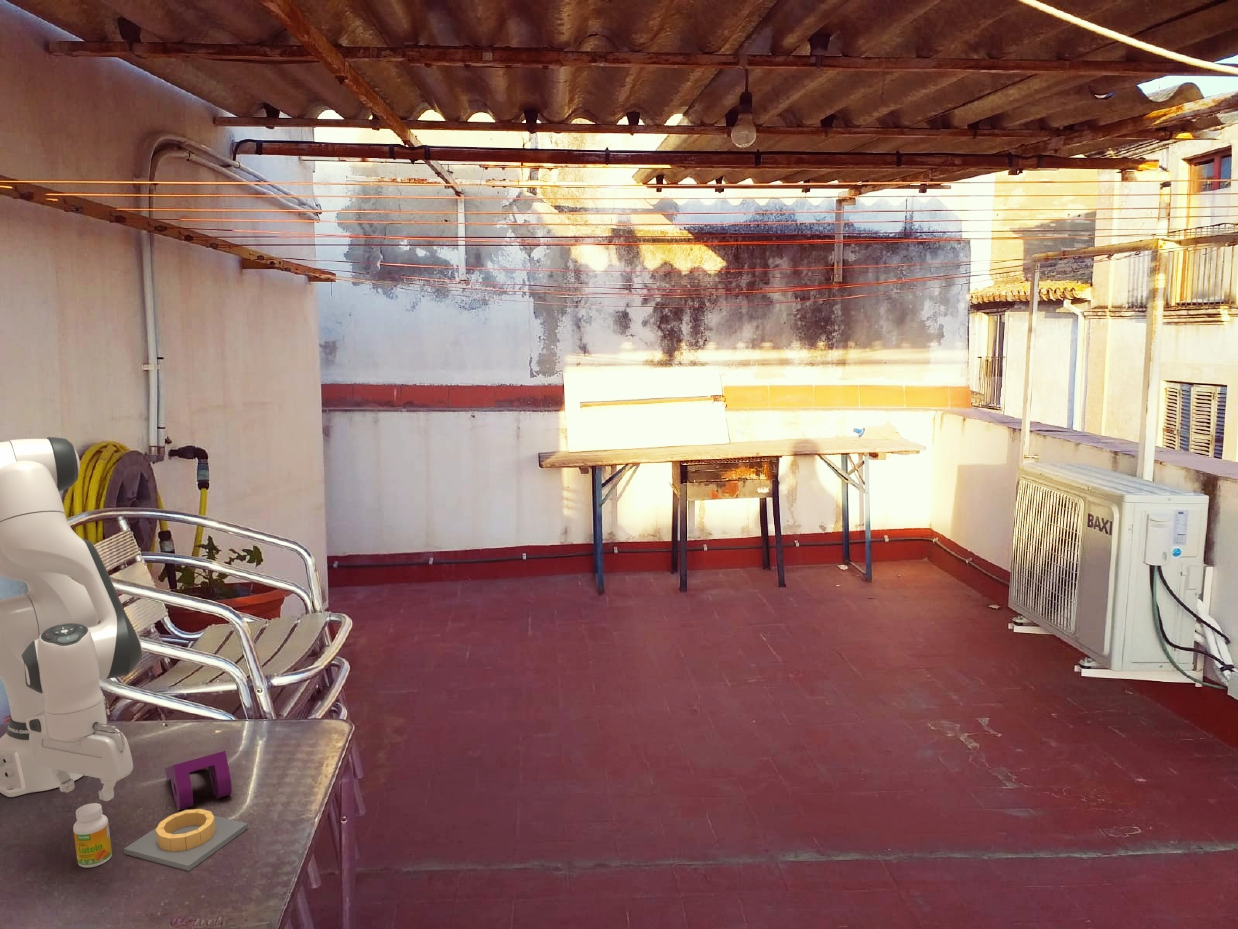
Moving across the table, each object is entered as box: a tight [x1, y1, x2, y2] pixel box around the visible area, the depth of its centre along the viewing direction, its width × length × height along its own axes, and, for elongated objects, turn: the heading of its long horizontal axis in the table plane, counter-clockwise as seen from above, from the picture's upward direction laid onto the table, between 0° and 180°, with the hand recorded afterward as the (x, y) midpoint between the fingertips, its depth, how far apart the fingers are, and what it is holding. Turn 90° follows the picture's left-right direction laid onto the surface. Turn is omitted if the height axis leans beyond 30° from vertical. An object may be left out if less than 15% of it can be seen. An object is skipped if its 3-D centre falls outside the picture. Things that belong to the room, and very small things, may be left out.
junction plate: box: [123, 808, 249, 872], centre depth 173 cm, size 15×14×4 cm
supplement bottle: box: [72, 802, 113, 869], centre depth 168 cm, size 5×5×10 cm
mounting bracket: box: [164, 750, 233, 811], centre depth 192 cm, size 9×8×18 cm
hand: (87, 795), depth 166 cm, fingers open, 8 cm apart
